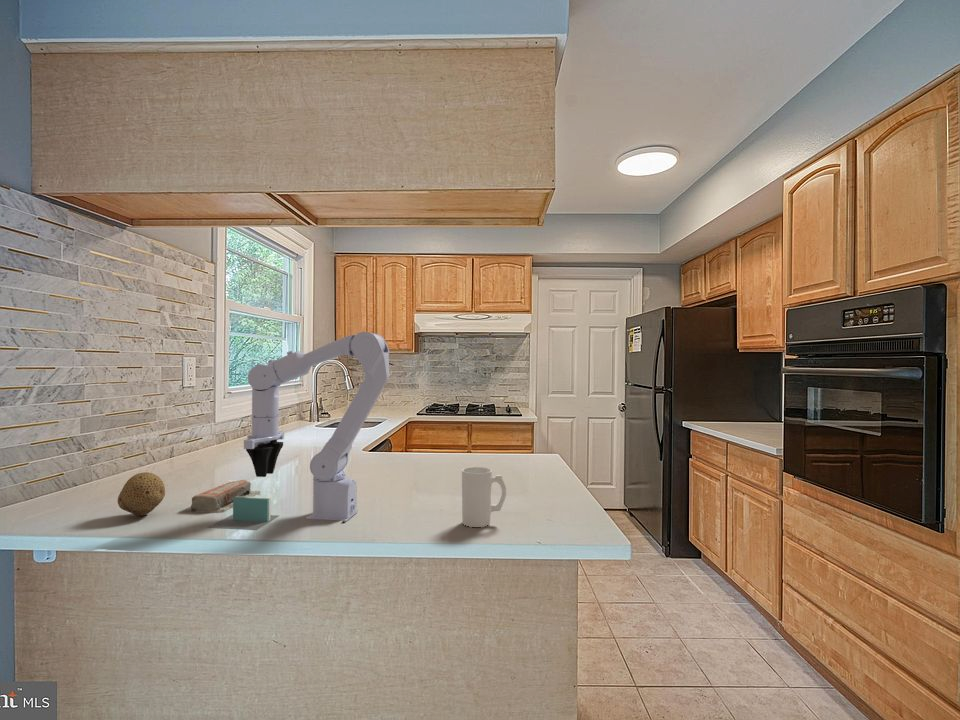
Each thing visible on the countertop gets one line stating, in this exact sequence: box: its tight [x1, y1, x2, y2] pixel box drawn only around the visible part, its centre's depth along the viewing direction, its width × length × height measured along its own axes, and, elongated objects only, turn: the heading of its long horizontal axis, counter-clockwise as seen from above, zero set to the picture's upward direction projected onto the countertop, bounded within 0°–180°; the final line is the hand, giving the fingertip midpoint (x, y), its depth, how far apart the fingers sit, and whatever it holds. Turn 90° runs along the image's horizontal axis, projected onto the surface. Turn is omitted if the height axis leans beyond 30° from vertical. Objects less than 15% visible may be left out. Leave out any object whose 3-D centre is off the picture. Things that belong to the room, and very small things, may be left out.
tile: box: [232, 496, 272, 522], centre depth 117 cm, size 8×1×5 cm, turn 84°
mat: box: [207, 514, 280, 531], centre depth 116 cm, size 11×10×1 cm
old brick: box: [182, 479, 261, 514], centre depth 131 cm, size 18×5×10 cm
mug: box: [461, 466, 507, 528], centre depth 118 cm, size 10×7×12 cm, turn 92°
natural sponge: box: [117, 471, 166, 517], centre depth 121 cm, size 9×9×10 cm
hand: (264, 474), depth 122 cm, fingers open, 3 cm apart
